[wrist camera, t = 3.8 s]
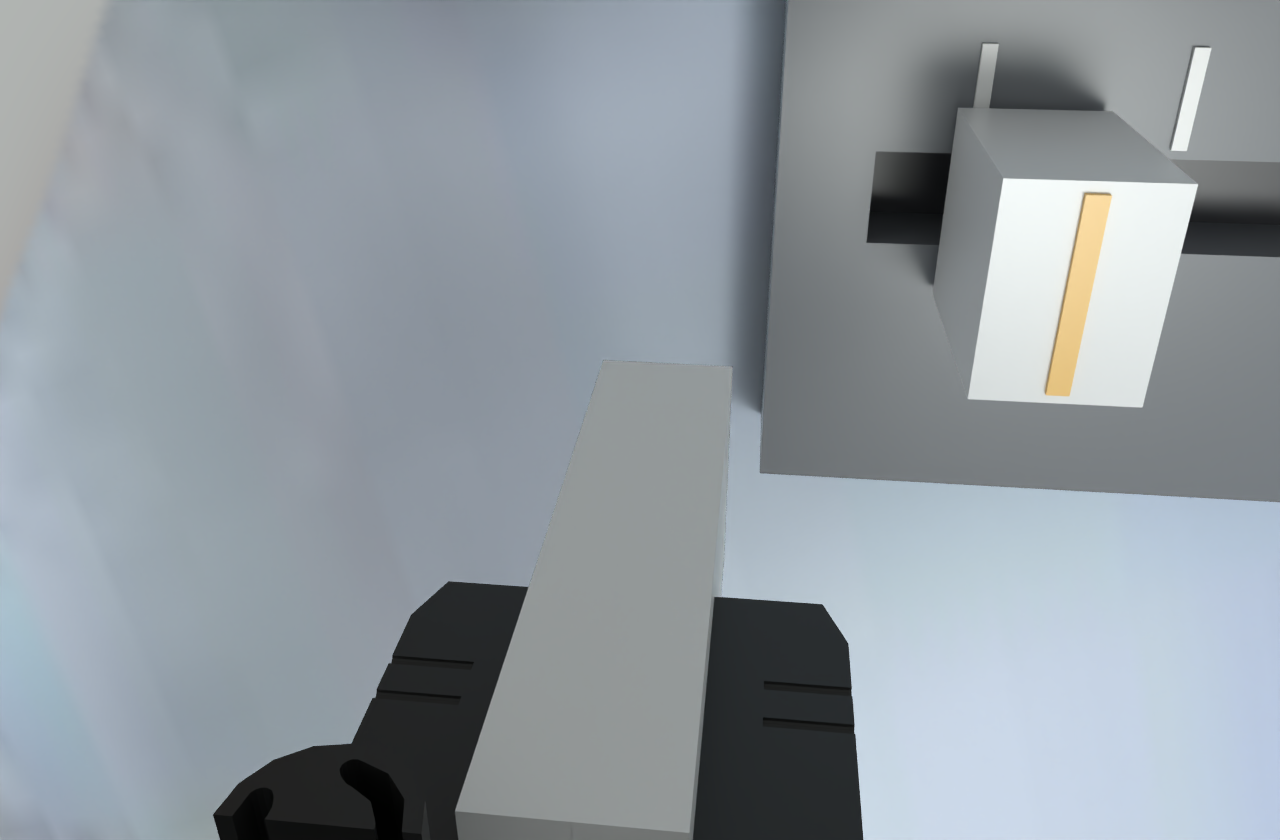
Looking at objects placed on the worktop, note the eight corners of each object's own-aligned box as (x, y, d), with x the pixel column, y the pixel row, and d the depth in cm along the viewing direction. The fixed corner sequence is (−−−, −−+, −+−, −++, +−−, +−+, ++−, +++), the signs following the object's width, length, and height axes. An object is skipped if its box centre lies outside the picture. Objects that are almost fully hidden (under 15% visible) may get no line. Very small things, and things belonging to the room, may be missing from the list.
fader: (920, 258, 26) (968, 401, 19) (943, 84, 24) (1004, 180, 17) (1051, 263, 25) (1144, 410, 19) (1085, 87, 23) (1200, 185, 17)
